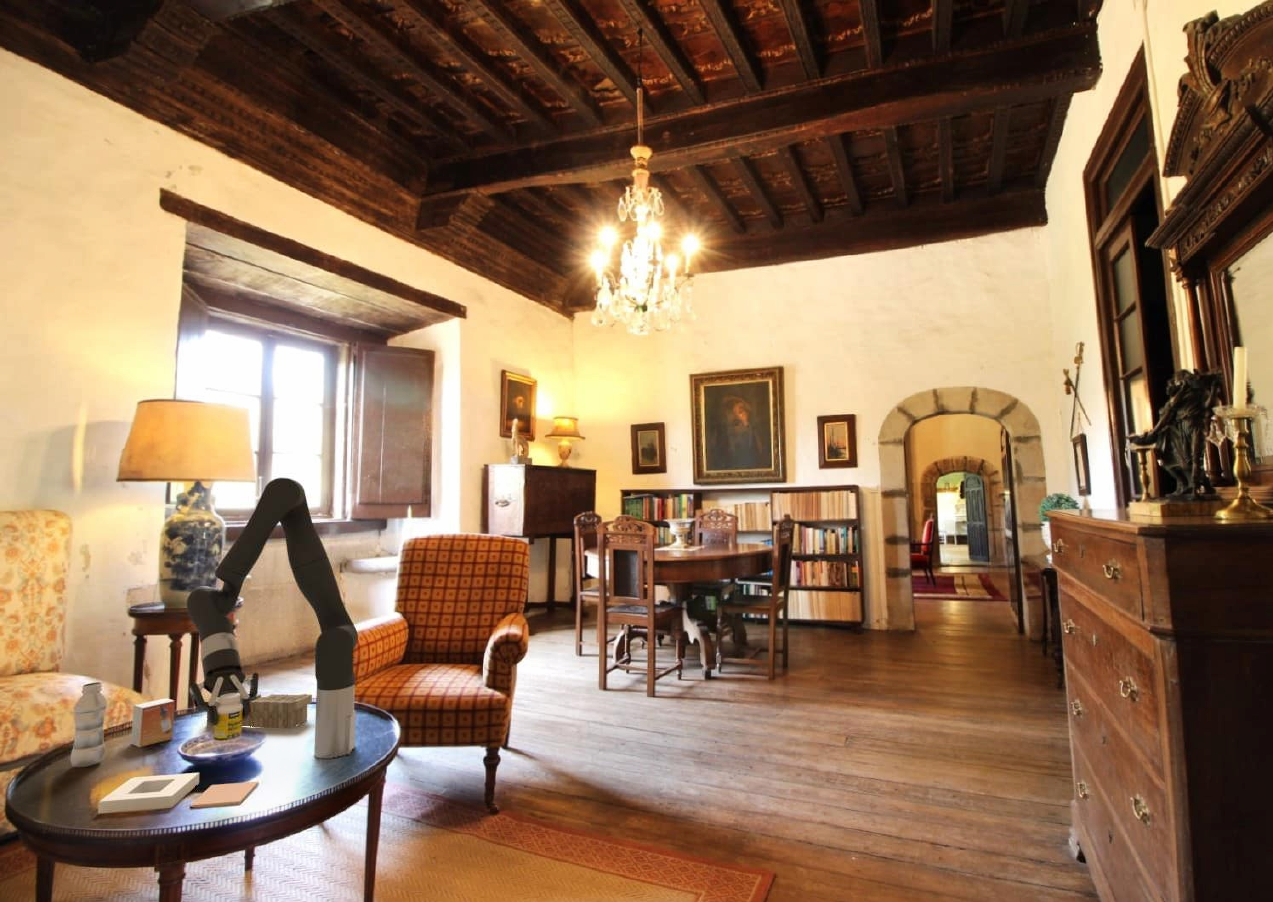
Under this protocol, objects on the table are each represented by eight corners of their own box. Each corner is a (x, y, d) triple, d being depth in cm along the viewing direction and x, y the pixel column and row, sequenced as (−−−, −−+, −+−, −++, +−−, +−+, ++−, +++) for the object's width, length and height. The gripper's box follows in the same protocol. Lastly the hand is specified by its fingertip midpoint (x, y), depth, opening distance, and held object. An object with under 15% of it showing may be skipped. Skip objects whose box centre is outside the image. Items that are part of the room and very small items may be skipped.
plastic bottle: (106, 764, 160) (111, 683, 161) (70, 773, 155) (76, 689, 156) (102, 757, 164) (107, 679, 166) (67, 765, 159) (73, 684, 161)
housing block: (198, 783, 149) (199, 772, 149) (171, 807, 137) (172, 795, 137) (131, 788, 146) (132, 777, 147) (98, 813, 135) (98, 801, 135)
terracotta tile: (258, 783, 149) (258, 781, 149) (240, 803, 139) (240, 801, 139) (211, 787, 147) (211, 784, 147) (189, 808, 137) (189, 805, 137)
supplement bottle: (227, 744, 141) (230, 699, 141) (207, 742, 142) (209, 698, 142) (247, 735, 146) (249, 692, 147) (227, 734, 147) (229, 690, 148)
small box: (139, 748, 171) (141, 708, 171) (130, 744, 174) (132, 704, 174) (173, 738, 177) (175, 700, 178) (164, 734, 180) (166, 697, 181)
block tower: (201, 730, 187) (296, 729, 185) (201, 701, 187) (296, 699, 185) (220, 721, 194) (312, 720, 193) (221, 693, 195) (312, 691, 193)
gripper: (187, 652, 145) (196, 718, 136) (257, 642, 156) (270, 703, 146) (181, 671, 149) (189, 737, 139) (250, 660, 159) (262, 721, 150)
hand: (230, 719), depth 143 cm, fingers closed on supplement bottle, 5 cm apart
